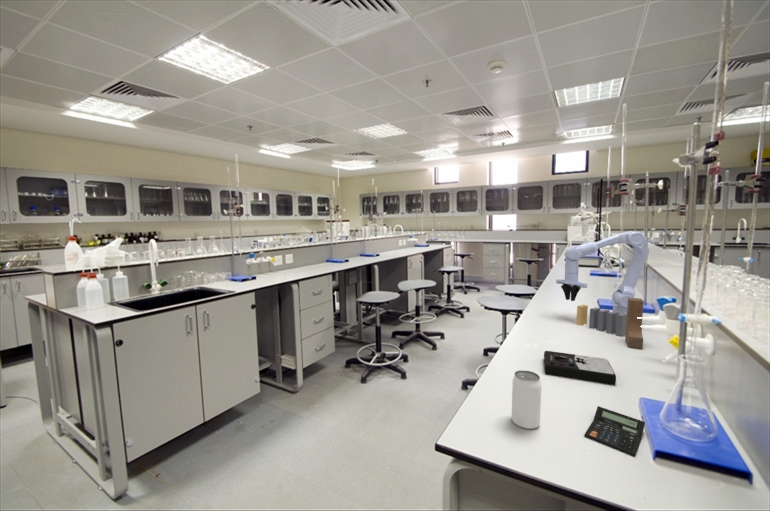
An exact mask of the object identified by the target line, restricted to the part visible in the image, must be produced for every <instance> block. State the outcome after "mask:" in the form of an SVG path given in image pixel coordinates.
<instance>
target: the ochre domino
mask: <svg viewBox="0 0 770 511" xmlns="http://www.w3.org/2000/svg"><path fill="white" fill-rule="evenodd" d="M588 306H589V305H587V304H580V305H577V306H576V308H577V309H576V325H577V324H578V325H577V326H580V325H581V326H584V324H585V325H587V324H588V309H589V307H588Z"/></svg>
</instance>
